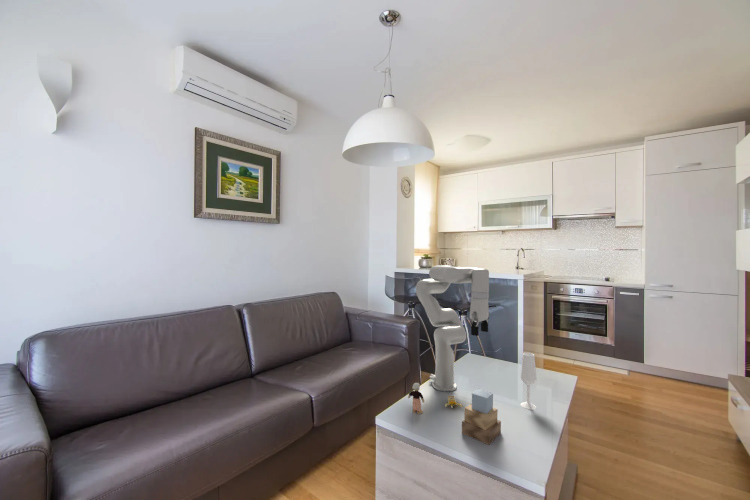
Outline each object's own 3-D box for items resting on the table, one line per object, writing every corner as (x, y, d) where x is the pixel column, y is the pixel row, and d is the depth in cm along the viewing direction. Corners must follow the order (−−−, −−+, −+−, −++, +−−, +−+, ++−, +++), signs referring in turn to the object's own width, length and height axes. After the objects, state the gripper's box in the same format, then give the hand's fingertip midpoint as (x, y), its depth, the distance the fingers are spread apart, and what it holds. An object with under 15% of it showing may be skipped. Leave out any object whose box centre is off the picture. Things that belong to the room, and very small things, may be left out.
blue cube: (471, 408, 125) (471, 393, 125) (478, 403, 130) (478, 388, 130) (486, 414, 121) (486, 398, 121) (492, 408, 126) (493, 393, 126)
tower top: (464, 420, 126) (464, 407, 126) (476, 413, 132) (476, 400, 132) (485, 430, 119) (485, 416, 119) (497, 422, 125) (497, 409, 125)
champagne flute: (538, 410, 144) (538, 357, 144) (522, 408, 145) (522, 355, 146) (533, 403, 151) (534, 352, 151) (518, 401, 152) (519, 351, 152)
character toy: (445, 402, 143) (442, 394, 151) (445, 409, 143) (442, 401, 151) (463, 403, 143) (459, 395, 151) (463, 410, 143) (459, 402, 151)
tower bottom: (461, 434, 125) (461, 421, 125) (474, 423, 133) (474, 411, 133) (489, 446, 118) (489, 432, 118) (500, 433, 126) (500, 421, 126)
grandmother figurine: (425, 411, 142) (425, 382, 142) (423, 415, 139) (424, 385, 139) (408, 408, 145) (408, 380, 145) (406, 412, 141) (406, 383, 141)
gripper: (480, 293, 154) (480, 328, 154) (463, 296, 141) (462, 335, 141) (496, 294, 149) (495, 331, 148) (479, 298, 136) (478, 338, 136)
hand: (479, 333), depth 145 cm, fingers open, 9 cm apart
